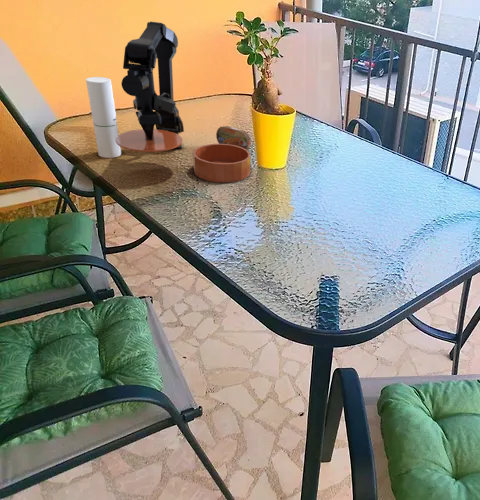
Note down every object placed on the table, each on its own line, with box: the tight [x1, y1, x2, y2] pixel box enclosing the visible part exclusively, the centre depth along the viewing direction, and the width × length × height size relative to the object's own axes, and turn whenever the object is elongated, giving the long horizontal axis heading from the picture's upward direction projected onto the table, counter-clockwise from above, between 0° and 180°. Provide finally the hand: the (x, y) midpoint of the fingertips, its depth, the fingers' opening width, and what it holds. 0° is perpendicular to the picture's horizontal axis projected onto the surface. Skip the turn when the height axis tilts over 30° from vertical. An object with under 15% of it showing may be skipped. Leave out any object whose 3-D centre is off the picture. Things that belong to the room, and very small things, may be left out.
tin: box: [215, 125, 252, 151], centre depth 177 cm, size 15×3×8 cm, turn 62°
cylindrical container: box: [85, 76, 122, 159], centre depth 155 cm, size 7×7×25 cm
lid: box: [116, 128, 184, 153], centre depth 148 cm, size 20×20×5 cm
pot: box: [192, 143, 252, 183], centre depth 159 cm, size 19×19×6 cm
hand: (149, 137), depth 148 cm, fingers closed on lid, 3 cm apart
